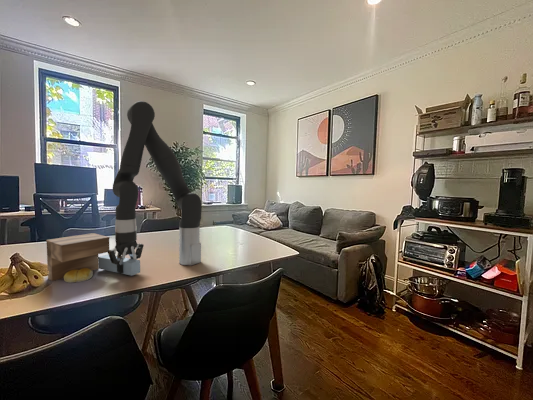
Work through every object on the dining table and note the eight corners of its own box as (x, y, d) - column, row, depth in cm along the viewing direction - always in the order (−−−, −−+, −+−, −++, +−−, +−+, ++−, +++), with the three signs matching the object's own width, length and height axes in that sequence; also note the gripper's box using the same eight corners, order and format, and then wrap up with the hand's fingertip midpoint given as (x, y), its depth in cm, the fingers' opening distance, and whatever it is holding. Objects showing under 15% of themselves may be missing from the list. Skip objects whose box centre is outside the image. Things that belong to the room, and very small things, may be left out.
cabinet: (110, 273, 103) (109, 237, 102) (62, 286, 89) (61, 245, 88) (94, 266, 109) (93, 233, 108) (47, 278, 96) (46, 240, 94)
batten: (140, 272, 102) (140, 260, 101) (131, 275, 98) (131, 263, 98) (107, 265, 109) (107, 254, 108) (98, 268, 105) (98, 257, 104)
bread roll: (68, 276, 99) (67, 267, 98) (94, 274, 102) (94, 264, 102) (59, 284, 91) (59, 274, 91) (88, 281, 94) (88, 271, 94)
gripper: (112, 234, 92) (113, 278, 94) (148, 228, 105) (148, 268, 106) (102, 231, 96) (103, 274, 97) (137, 226, 108) (137, 264, 110)
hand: (126, 271), depth 102 cm, fingers closed on batten, 4 cm apart
